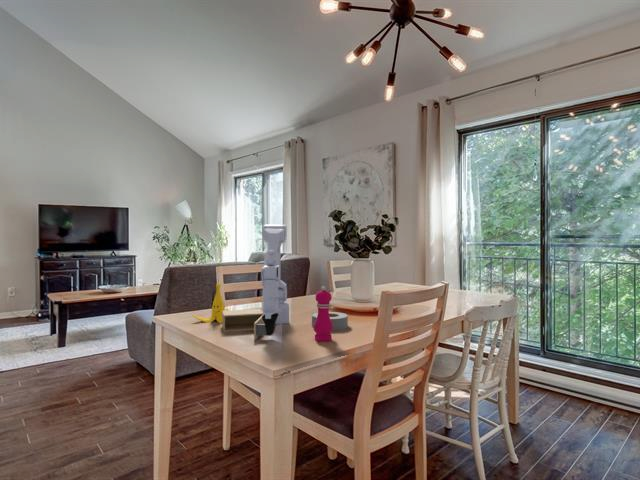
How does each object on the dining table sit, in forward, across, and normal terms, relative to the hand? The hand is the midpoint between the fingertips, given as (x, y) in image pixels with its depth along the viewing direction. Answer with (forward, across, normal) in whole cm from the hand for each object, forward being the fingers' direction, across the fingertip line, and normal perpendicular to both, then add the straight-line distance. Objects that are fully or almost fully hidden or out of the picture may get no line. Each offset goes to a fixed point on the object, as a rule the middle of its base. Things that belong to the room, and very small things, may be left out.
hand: (270, 334), depth 146 cm
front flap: (+2, +6, +2) cm, 7 cm away
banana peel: (+2, +33, +27) cm, 42 cm away
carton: (+2, +17, +14) cm, 22 cm away
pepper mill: (+2, 0, -20) cm, 20 cm away
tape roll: (+2, +21, -23) cm, 31 cm away
